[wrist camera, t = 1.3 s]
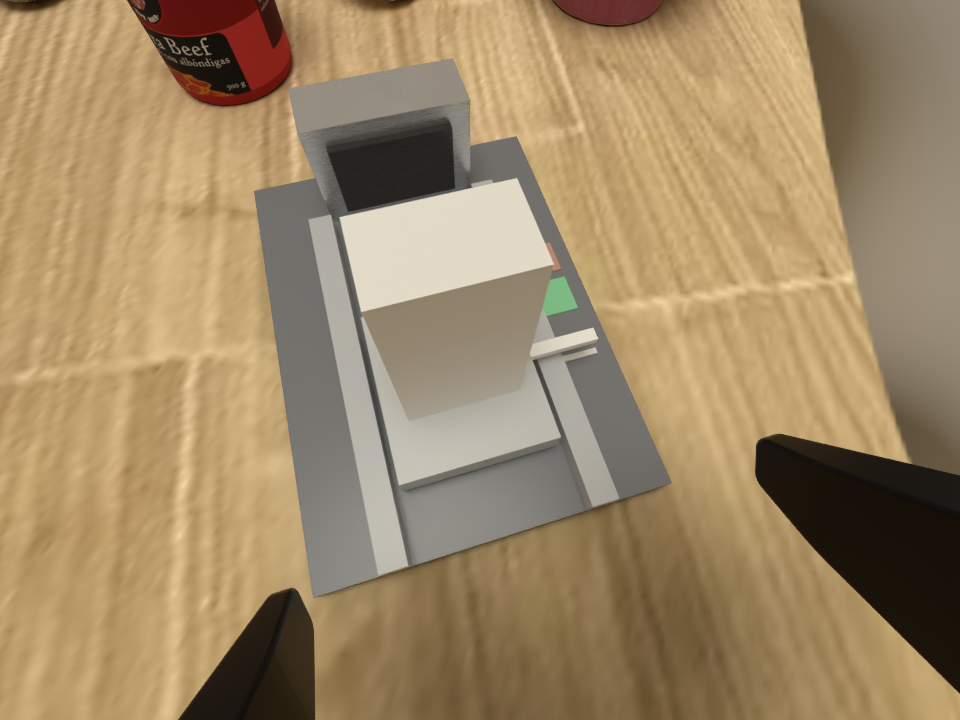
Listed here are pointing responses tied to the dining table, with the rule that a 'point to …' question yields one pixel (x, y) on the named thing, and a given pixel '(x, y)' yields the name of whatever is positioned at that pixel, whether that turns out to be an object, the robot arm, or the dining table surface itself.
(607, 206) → the dining table surface
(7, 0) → the plastic bottle
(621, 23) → the plant pot
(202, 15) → the canned food
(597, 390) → the track
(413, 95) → the grey block with recess
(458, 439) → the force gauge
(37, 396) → the dining table surface
